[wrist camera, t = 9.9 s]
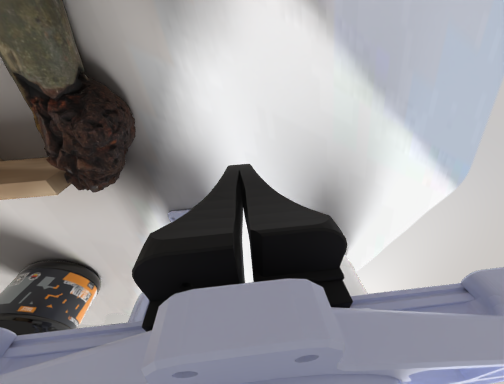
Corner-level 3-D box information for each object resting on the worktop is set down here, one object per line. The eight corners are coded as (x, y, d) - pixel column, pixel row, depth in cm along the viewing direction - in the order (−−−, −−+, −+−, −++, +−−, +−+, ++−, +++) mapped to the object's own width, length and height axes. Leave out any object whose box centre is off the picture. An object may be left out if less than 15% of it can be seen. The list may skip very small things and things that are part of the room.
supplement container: (115, 288, 34) (70, 380, 25) (55, 295, 34) (-15, 391, 24) (82, 253, 28) (4, 356, 19) (7, 260, 28) (-112, 370, 18)
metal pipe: (-40, -99, 11) (-237, -213, 6) (89, -79, 12) (-2, -166, 7) (90, 172, 21) (51, 204, 16) (154, 173, 22) (133, 203, 17)
